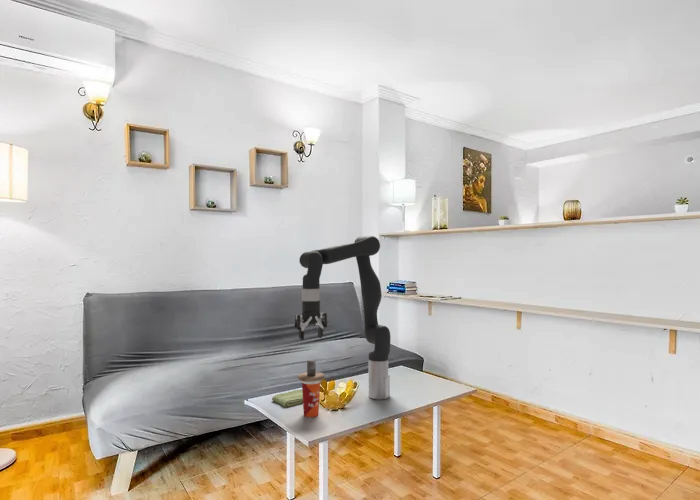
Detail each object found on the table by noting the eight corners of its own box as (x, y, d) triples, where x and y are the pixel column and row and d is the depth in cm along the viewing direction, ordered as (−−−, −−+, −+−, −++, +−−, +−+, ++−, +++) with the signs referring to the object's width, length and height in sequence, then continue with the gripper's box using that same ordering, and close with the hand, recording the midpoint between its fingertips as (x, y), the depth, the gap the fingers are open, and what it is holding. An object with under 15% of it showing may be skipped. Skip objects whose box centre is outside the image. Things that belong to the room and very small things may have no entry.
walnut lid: (329, 375, 175) (329, 359, 175) (316, 382, 165) (316, 365, 165) (306, 373, 180) (306, 356, 180) (292, 379, 170) (292, 362, 170)
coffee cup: (313, 419, 166) (313, 381, 167) (296, 415, 170) (297, 378, 171) (325, 413, 173) (325, 376, 174) (309, 409, 178) (309, 374, 178)
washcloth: (318, 400, 191) (318, 393, 191) (285, 409, 179) (285, 401, 179) (302, 393, 201) (302, 386, 201) (270, 401, 189) (270, 394, 189)
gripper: (300, 301, 166) (300, 342, 166) (330, 299, 174) (330, 338, 174) (291, 299, 172) (291, 339, 172) (321, 298, 180) (321, 335, 180)
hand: (311, 338), depth 173 cm, fingers open, 8 cm apart
